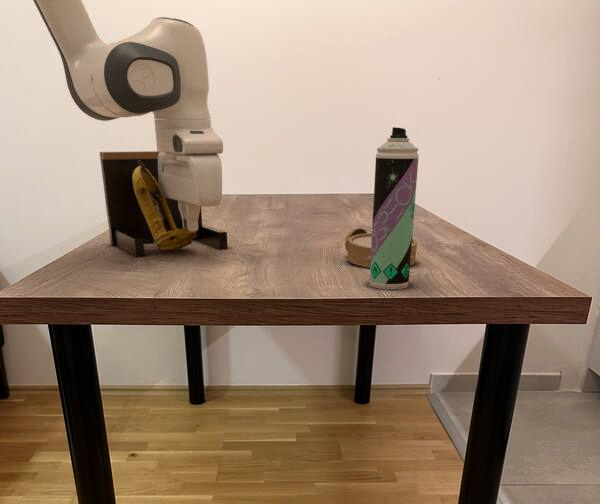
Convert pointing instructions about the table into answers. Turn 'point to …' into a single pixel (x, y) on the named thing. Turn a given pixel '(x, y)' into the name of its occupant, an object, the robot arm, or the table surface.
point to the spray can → (393, 211)
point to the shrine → (158, 212)
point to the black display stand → (127, 212)
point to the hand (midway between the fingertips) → (190, 230)
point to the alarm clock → (366, 248)
